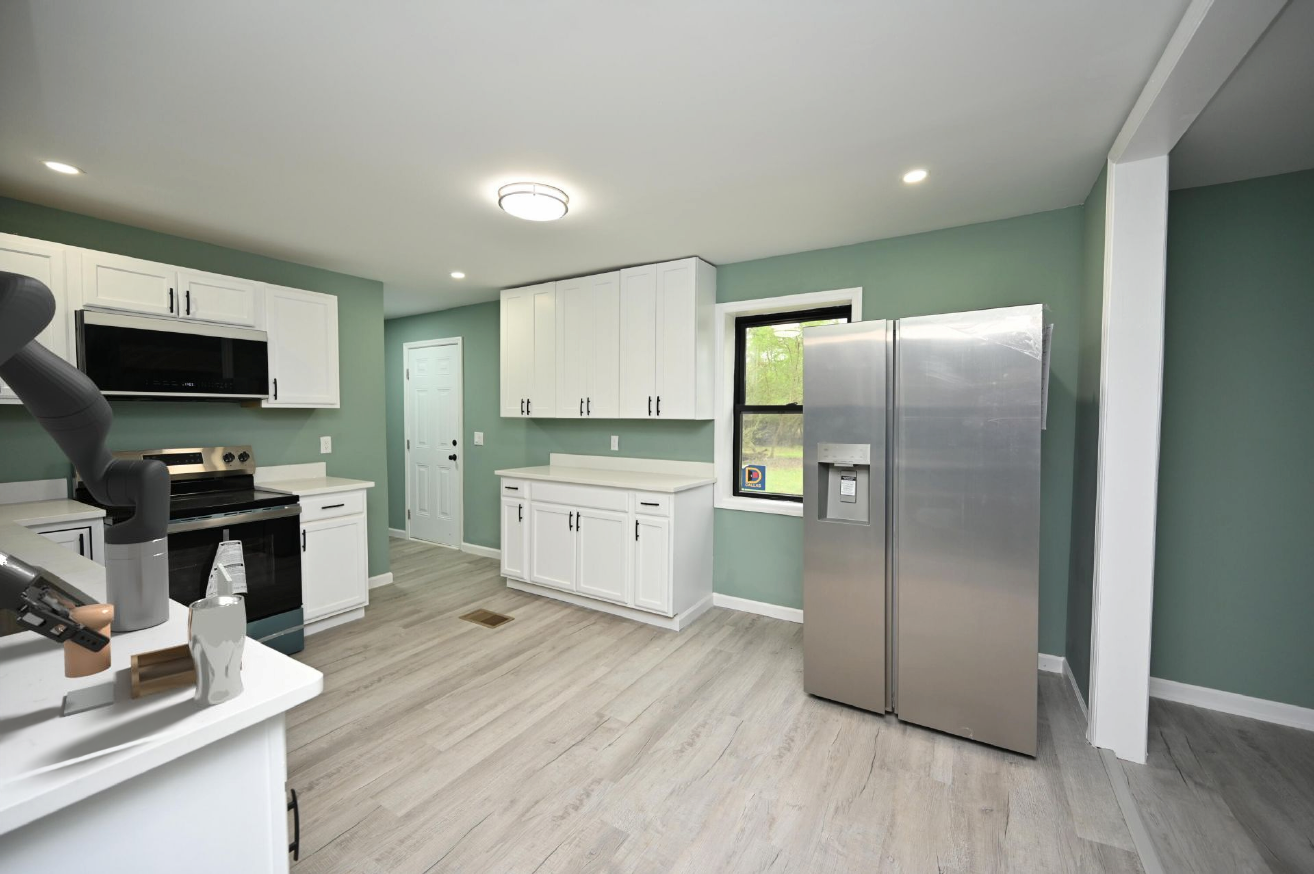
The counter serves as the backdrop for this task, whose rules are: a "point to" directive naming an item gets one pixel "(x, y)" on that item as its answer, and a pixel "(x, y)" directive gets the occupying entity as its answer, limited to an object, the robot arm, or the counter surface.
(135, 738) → the counter surface
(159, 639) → the counter surface
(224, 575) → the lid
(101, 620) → the peach mushroom shaped stopper
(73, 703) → the tile
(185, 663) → the open wooden box
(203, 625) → the beer glass
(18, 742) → the counter surface
